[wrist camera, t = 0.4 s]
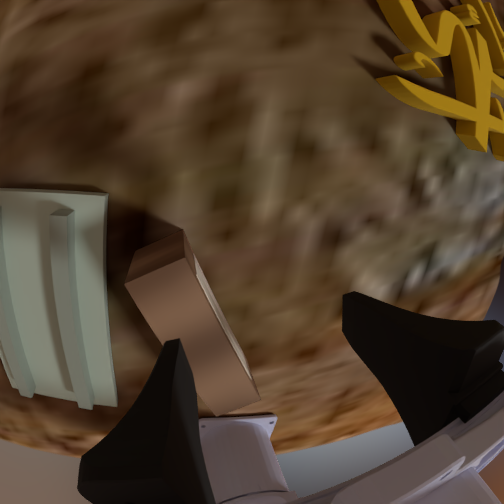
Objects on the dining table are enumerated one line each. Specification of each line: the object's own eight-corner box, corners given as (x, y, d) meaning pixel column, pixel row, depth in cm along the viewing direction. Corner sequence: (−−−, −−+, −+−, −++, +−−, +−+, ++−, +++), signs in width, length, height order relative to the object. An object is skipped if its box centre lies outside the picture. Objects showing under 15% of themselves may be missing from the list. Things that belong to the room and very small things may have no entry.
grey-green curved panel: (118, 399, 23) (115, 419, 20) (15, 380, 20) (7, 398, 17) (108, 193, 17) (98, 201, 15) (-22, 187, 14) (-41, 194, 12)
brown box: (246, 356, 24) (261, 399, 20) (207, 372, 24) (215, 416, 19) (183, 228, 19) (185, 256, 15) (134, 250, 19) (123, 284, 14)
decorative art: (365, -90, 9) (534, 38, 16) (350, -77, 12) (519, 38, 19) (380, 115, 17) (539, 178, 24) (356, 116, 19) (523, 173, 26)
